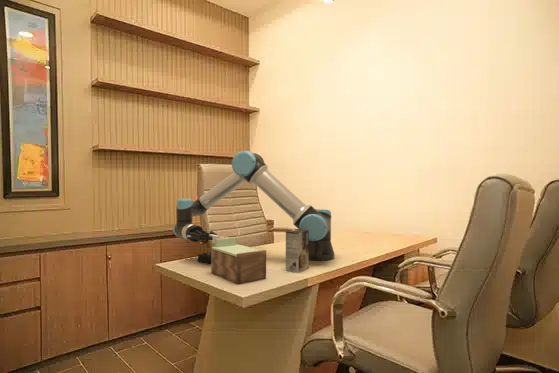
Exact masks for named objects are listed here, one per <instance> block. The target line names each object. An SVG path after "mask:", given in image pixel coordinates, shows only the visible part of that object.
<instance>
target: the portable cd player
mask: <svg viewBox="0 0 559 373" xmlns="http://www.w3.org/2000/svg"><path fill="white" fill-rule="evenodd" d="M198 262H199V264H205V265H210V266H211V251H209V252H205V253H200V254H198V256H197V263H198Z"/></svg>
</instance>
